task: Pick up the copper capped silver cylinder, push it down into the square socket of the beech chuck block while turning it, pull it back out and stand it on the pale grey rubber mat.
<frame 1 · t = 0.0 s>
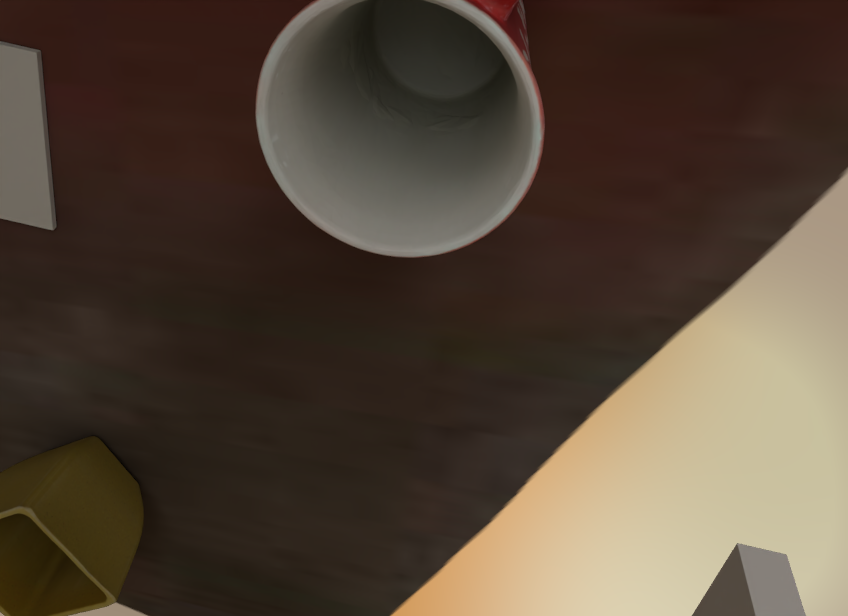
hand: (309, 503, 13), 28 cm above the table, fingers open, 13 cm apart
flower pot: (93, 464, 55), on the table
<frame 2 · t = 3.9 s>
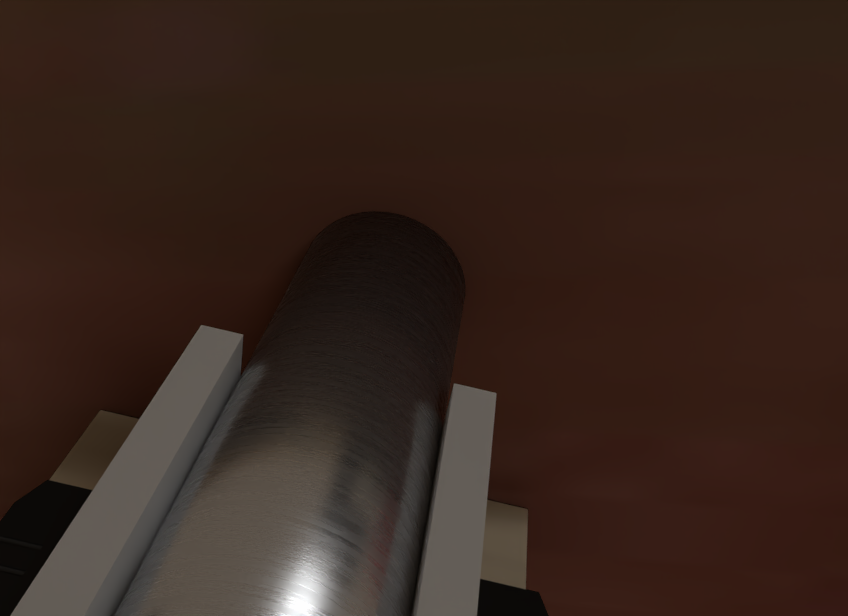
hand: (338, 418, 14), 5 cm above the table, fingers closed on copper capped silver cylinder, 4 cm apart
chuck block: (293, 593, 25), on the table
copper capped silver cylinder: (383, 286, 18), on the table, touching gripper
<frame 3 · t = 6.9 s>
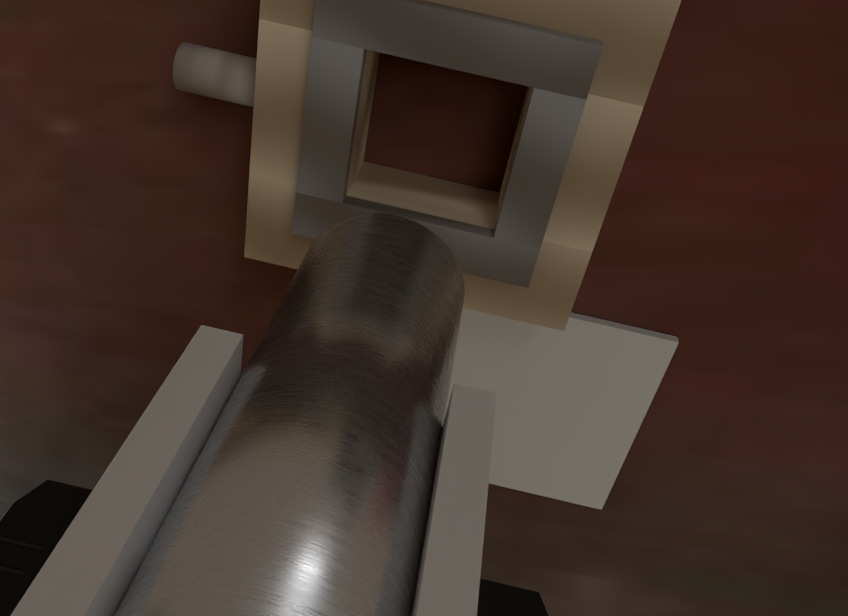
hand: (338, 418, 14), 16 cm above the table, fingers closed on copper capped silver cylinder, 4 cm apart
chuck block: (445, 110, 28), on the table
copper capped silver cylinder: (382, 287, 18), point 12 cm above the table, touching gripper
mat: (524, 400, 35), on the table
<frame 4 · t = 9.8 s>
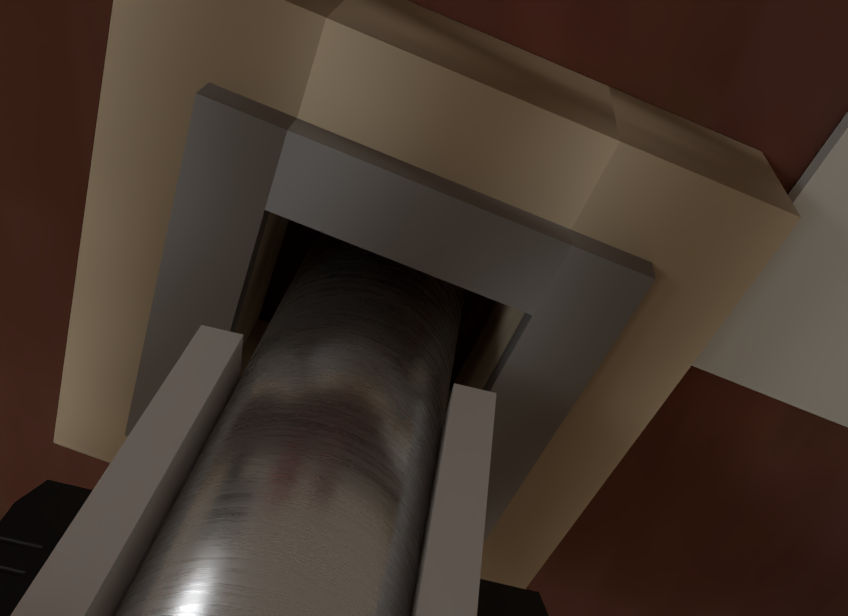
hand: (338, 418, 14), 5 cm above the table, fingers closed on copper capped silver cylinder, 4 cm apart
chuck block: (388, 275, 19), on the table
copper capped silver cylinder: (382, 287, 18), point 1 cm above the table, touching gripper
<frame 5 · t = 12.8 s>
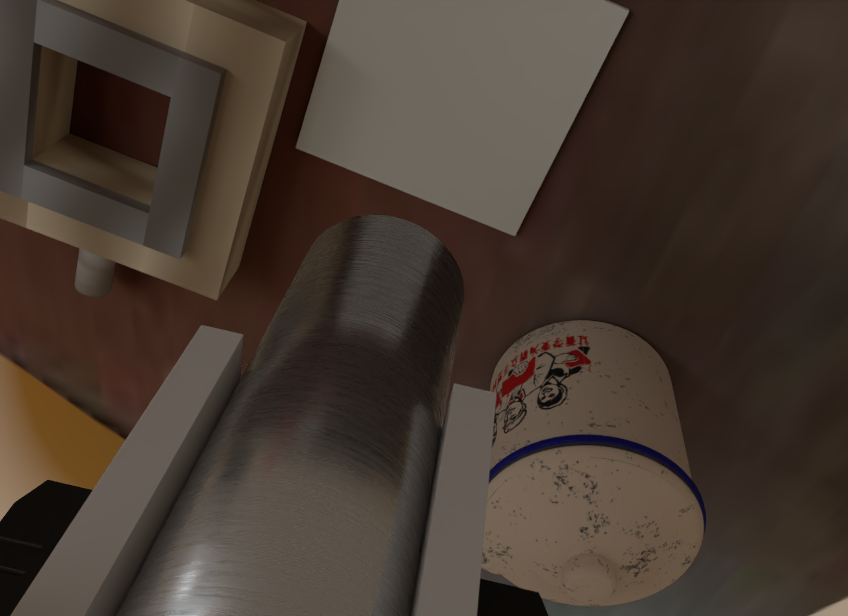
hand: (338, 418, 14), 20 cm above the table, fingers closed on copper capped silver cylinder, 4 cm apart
chuck block: (135, 102, 33), on the table
teacup with lid: (559, 404, 39), on the table
copper capped silver cylinder: (382, 289, 18), point 15 cm above the table, touching gripper
mat: (450, 81, 31), on the table
when the fingers open (6 cm above the table, at t = 15.5 s): copper capped silver cylinder stays where it is, resting on mat.
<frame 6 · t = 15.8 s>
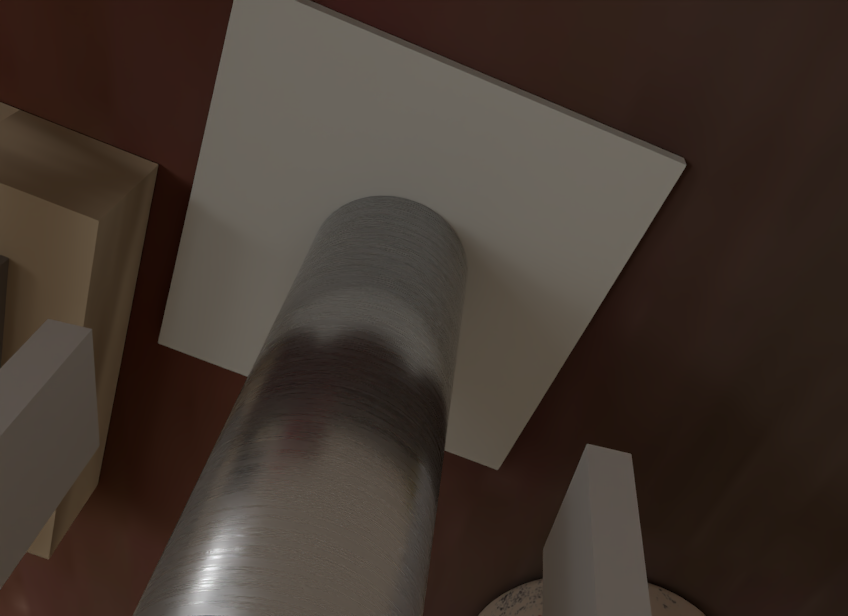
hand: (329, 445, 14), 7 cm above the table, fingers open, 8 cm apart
copper capped silver cylinder: (389, 267, 19), resting on mat
mat: (392, 256, 19), on the table
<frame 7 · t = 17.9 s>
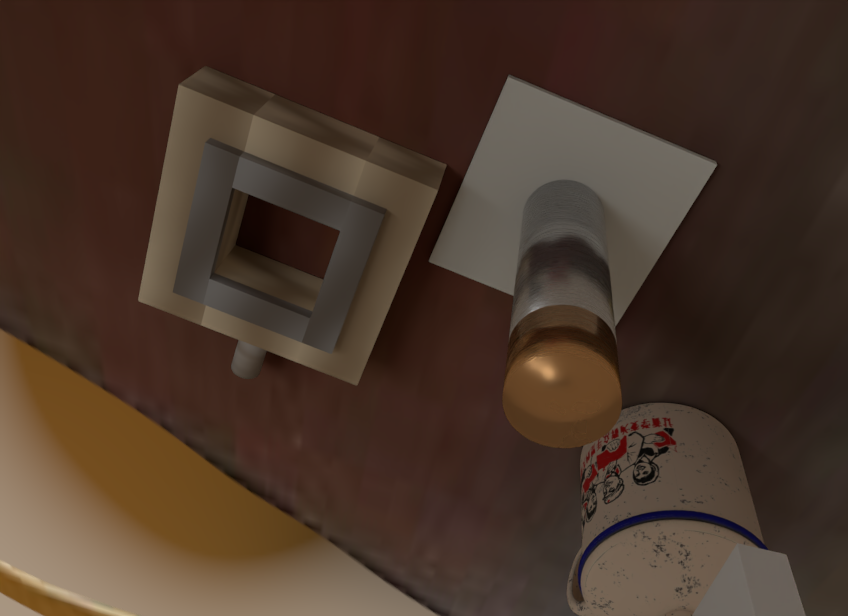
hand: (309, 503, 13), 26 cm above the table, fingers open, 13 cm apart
chuck block: (294, 222, 40), on the table
teacup with lid: (639, 470, 45), on the table
copper capped silver cylinder: (563, 217, 37), resting on mat
mat: (563, 212, 37), on the table
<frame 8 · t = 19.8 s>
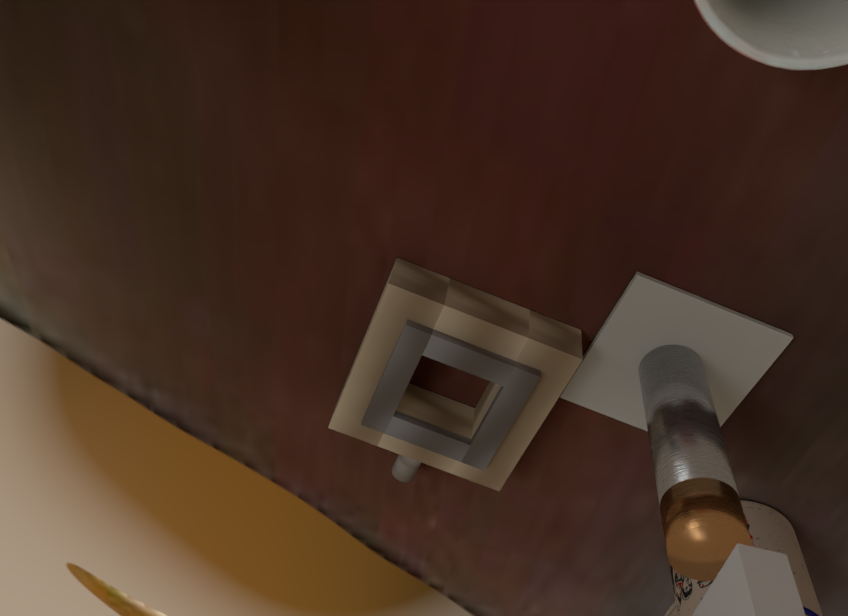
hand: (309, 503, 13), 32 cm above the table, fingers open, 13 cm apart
chuck block: (453, 366, 51), on the table
teacup with lid: (713, 547, 57), on the table
copper capped silver cylinder: (670, 369, 48), resting on mat
mat: (670, 365, 48), on the table
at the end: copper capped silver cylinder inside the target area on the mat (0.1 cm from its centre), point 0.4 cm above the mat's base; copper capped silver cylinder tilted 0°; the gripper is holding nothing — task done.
